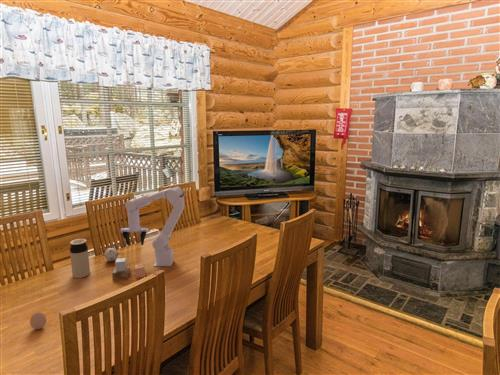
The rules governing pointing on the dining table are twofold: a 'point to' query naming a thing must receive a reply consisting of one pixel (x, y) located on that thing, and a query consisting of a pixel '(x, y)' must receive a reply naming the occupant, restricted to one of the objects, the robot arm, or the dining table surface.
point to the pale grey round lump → (111, 254)
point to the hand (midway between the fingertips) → (135, 244)
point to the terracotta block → (140, 270)
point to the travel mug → (79, 258)
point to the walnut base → (121, 274)
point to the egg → (38, 320)
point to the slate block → (120, 264)
